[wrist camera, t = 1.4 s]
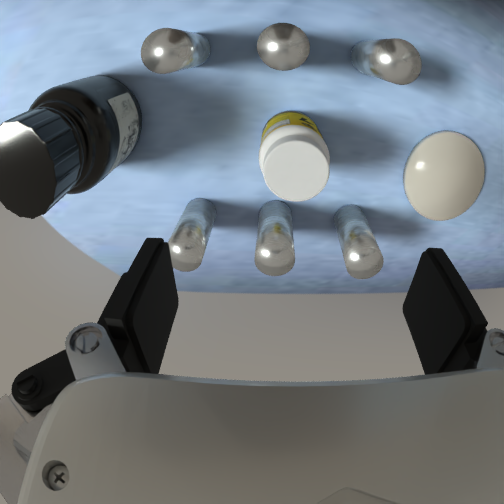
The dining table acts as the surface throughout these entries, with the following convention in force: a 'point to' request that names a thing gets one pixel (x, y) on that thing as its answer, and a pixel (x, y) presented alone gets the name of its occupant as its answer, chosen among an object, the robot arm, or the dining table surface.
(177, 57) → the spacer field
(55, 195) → the ink bottle
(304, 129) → the supplement bottle
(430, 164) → the coaster
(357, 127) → the dining table surface
